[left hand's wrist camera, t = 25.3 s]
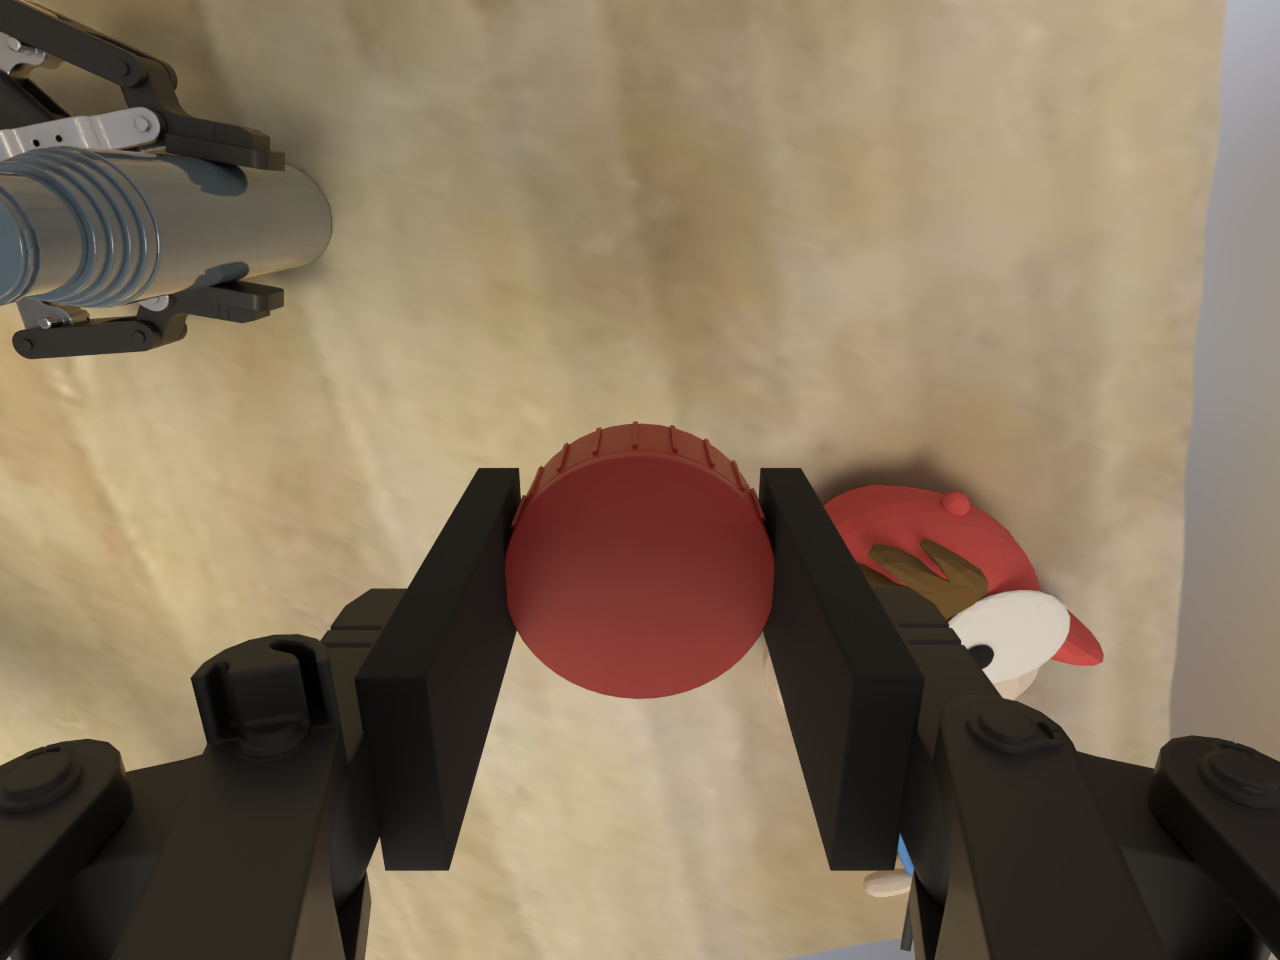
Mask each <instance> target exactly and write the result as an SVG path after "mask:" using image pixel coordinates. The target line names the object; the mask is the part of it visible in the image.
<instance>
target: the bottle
mask: <svg viewBox="0 0 1280 960" xmlns="http://www.w3.org/2000/svg"><path fill="white" fill-rule="evenodd" d="M331 229H332V219H331V213H330V209H329V205H328V203H327V200H326V198H325V196H324V194H323V193H322V191H321V190H320V188H319V187H318V186H317V184H316V183H315V182H314V181H313V180H312V179H311V178H309V177H308V176H307V175H306V174H304V173H303V172H301V171H300V170H298V169H296V168H294V167H291V166H289V165H285V171H269V170H261V169H255V168H249V167H244V166H238V165H233V164H227V163H222V162H217V161H211V160H206V159H200V158H196V157H192V156H182V155H170V154H158V153H146V152H133V151H121V150H109V149H97V148H84V147H72V146H52V147H47V148H37V149H32V150H29V151H26V152H24V153H21V154H18V155H15V156H13V157H10V158H8V159H5V160H2V161H0V306H1V305H5V304H9V303H13V302H17V301H19V300H20V299H22V298H26V297H27V298H31V299H35V300H42V301H47V302H52V303H59V304H64V305H71V306H76V307H83V308H110V307H116V306H121V305H126V304H130V303H135V302H140V301H144V300H149V299H153V298H158V297H163V296H167V295H172V294H176V293H181V292H185V291H190V290H195V289H199V288H204V287H208V286H213V285H217V284H222V283H227V282H231V281H236V280H240V279H245V278H250V277H254V276H259V275H263V274H268V273H272V272H277V271H282V270H286V269H291V268H295V267H300V266H303V265H306V264H309V263H310V262H312V261H314V260H315V259H316V258H318V257H319V256H320V255H321V254H322V252H323V251H324V250H325V248H326V246H327V244H328V242H329V239H330V235H331Z"/></svg>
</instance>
